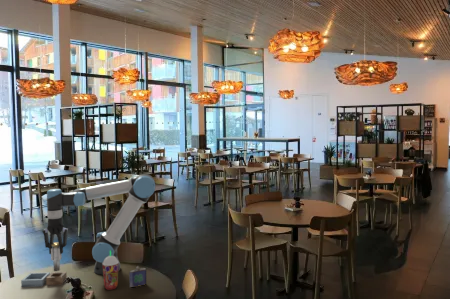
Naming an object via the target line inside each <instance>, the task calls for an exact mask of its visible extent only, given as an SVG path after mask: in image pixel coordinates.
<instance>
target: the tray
mask: <svg viewBox="0 0 450 299" xmlns="http://www.w3.org/2000/svg"><path fill="white" fill-rule="evenodd" d="M50 274H51V272H30V273H28V274H27V275H26V276H25V277H24V278H22V279H21V280H20V281H21V282H20V284H21V287H22V288H29V287H32V288H33V287H43V286H44V285H46V278H47V277H48V276H49V275H50Z"/></svg>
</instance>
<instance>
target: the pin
mask: <svg viewBox="0 0 450 299" xmlns="http://www.w3.org/2000/svg"><path fill="white" fill-rule="evenodd" d="M51 246H53V247H52V248H53V260H52V261H53V262H52V263H53V272H60V271H61V260H58V248H59V242H58V241H57V242H53V243H52V244H51Z"/></svg>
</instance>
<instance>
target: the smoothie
mask: <svg viewBox="0 0 450 299" xmlns="http://www.w3.org/2000/svg"><path fill="white" fill-rule="evenodd" d="M118 260H119V259H118ZM118 260H117V258H116V257H115V256H111V251H110V256H107V257H106V258H105V259H104V261H103V263H102V264H103V274H102V275H103V284H104V285H103V286H104V288H105V290H107V291H111V290H115V289H116V288H117V287H118V284H119V271H118V266H119V262H120V260H119V261H118Z"/></svg>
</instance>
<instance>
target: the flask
mask: <svg viewBox="0 0 450 299" xmlns="http://www.w3.org/2000/svg"><path fill="white" fill-rule="evenodd" d="M128 274H129V277H128V278H129V288H130V287H135V286H138V285H144V284H146V285H147V269H146V268H145V267H140V266H139V265H137V266H136V267H135V269H133V270H132V269H131V270H130V271H129V273H128Z"/></svg>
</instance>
